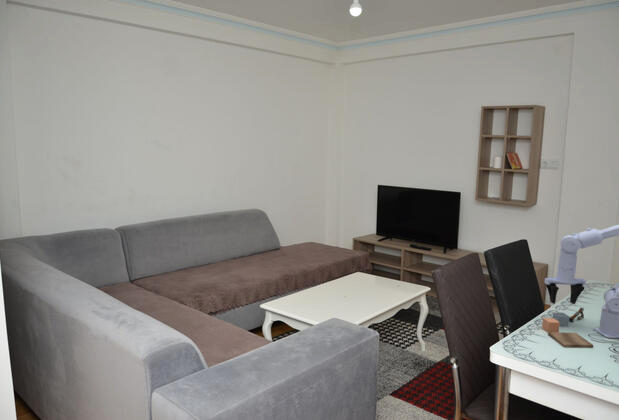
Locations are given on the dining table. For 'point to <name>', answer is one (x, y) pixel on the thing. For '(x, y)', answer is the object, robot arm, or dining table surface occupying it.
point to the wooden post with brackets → (577, 315)
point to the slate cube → (561, 319)
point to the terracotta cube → (550, 325)
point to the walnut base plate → (570, 340)
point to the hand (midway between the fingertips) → (562, 303)
